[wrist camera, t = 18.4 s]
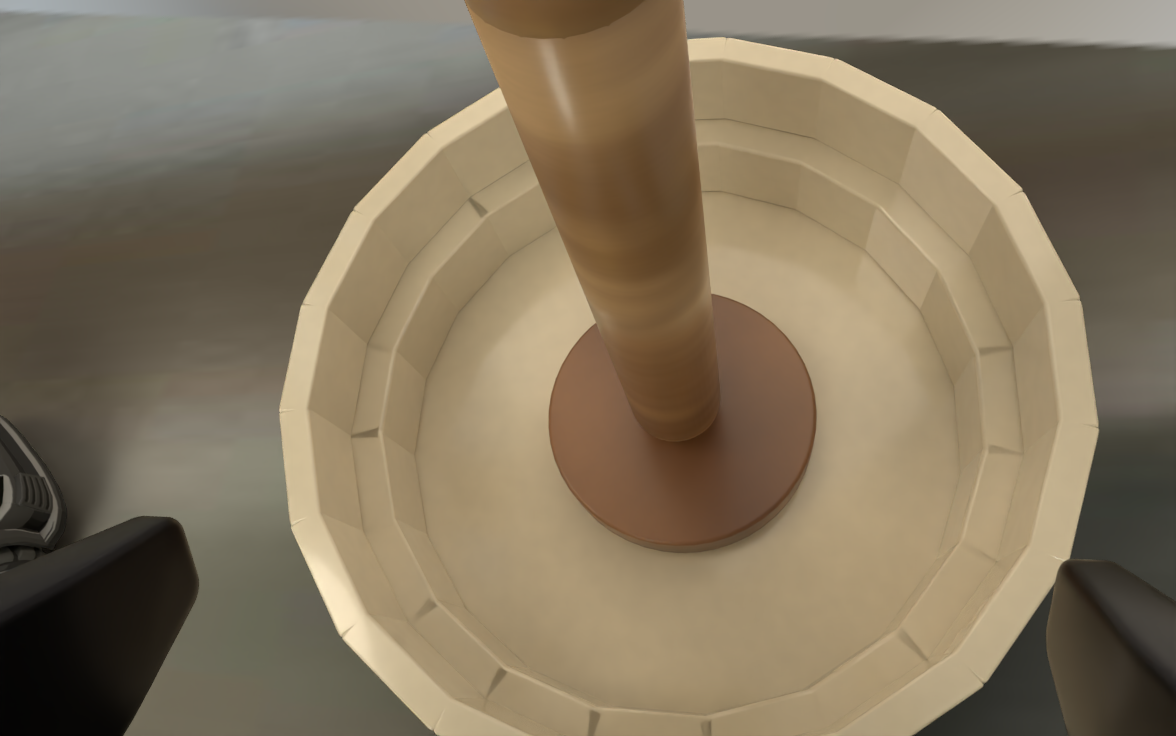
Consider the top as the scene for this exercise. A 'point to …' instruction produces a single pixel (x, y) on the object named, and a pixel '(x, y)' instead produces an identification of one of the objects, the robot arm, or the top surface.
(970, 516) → the bowl
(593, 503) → the wooden peg stand
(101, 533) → the robot arm
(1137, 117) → the top surface
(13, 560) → the toy car
